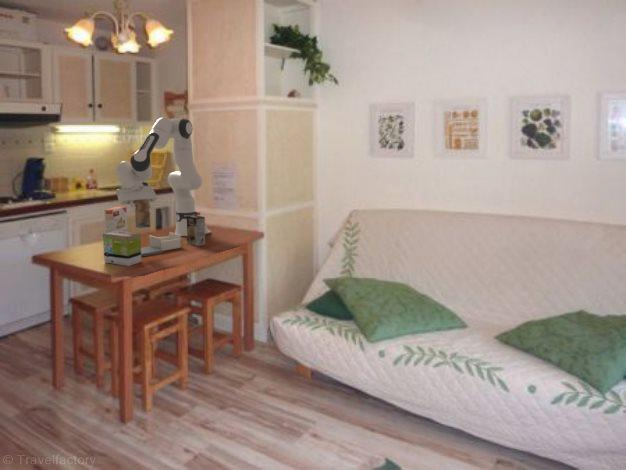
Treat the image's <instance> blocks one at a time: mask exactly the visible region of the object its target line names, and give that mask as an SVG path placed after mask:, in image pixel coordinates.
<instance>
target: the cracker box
mask: <svg viewBox="0 0 626 470" xmlns="http://www.w3.org/2000/svg"><path fill="white" fill-rule="evenodd" d="M127 210H128V209H127V207H126V206H114V207H111V208H107V209H104V225H105V227H104V228H105V234H106V233H110V232H113V231H123V232H128V216H127V215H128V213H127Z"/></svg>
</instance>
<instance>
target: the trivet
mask: <svg viewBox="0 0 626 470" xmlns="http://www.w3.org/2000/svg"><path fill="white" fill-rule="evenodd" d="M160 254H164V251H163V250H160V249H157V248H154V247H151V246H150V245H148V246H144V247H141V258H143V257H147V256H154V255H155V256H156V255H160ZM142 256H143V257H142Z"/></svg>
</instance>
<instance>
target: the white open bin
mask: <svg viewBox="0 0 626 470" xmlns="http://www.w3.org/2000/svg"><path fill="white" fill-rule="evenodd" d="M148 238H149V239H148V241H149V242H148V243H149V246H151V247H154V248H157V249H160V250H163V252H164V251H169V250H175V249H182V236H181V235H178V234H175V232H171V231H170V232H169V234H168V236H167V235H166V236H159V237H158V236H154V235H151V234H150V235H148Z"/></svg>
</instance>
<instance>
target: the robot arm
mask: <svg viewBox="0 0 626 470" xmlns="http://www.w3.org/2000/svg"><path fill="white" fill-rule="evenodd" d="M192 133H193V124H192V122H191V121H190V120H189V119H185V118H167V117H164V116H163V117H160V118H158V119H157V120H156V122H155V123H154V124H153V126H152V127H151V129H150V130H149V134H148V135H147V136H146V138H145V139H144V141H143V142H142V144H141V146H139V148H138V150H137V151H135V152H134V153H133V154H132V155H131V157H130V160H129V161H125V160H124V161H121V162H120V163H118V164H117V166H116V167H115V168H116V169H115V172H116V175H117V178H118V180H119V182H120V183H121V185H122V188H117V189H116V190H115V191H114V192H115V195H116V196H117V199H118V203H119V204H120V205H123V206H125V205H129V206H130V207H131V208H133V210H134V211H135V210H137V209H138V207H137V205H135V201H136V200H149V209H152V205H151V203H155V202H156V200H157V197H158V196H157V193H156V191H154V189H153V188H152V187H151V184H150V183H149V182H147V181H150V180H151V178H152V177H153V176H154V175H153V173H154V172H153V168H152V162H151V154H152V152H153V151H154V149H156V150H157V149H158V150H160V149H164V148H165V147H166V146H167V144H168V143H169V140H170V139H173V160H174V163H175V164H176V166H177V167H178V170H176V171H173V172H170V173H169V174H168V176H167V183H168V185H169V186H170V187H171V189H172V191H173V194H174V197H175V203H176V204H175V205H176V207H175V208H176V211H175V220H176V226H175V231H174V233H175V234H178V235H181V237H187V216H191V215H197V216H201V211H196V207H195V206H196V205H195V203H196V202H195V198H194V197H193V196H192V194H191V192H190V191H194V190H199V189H200V188H201V187H202V185H203V178H202V176H201V174H199V173H198V171H197V168H196V166H195V163H194V157H193V155H194V154H193V144H192V143H193V142H192V137H191V135H192ZM207 234H211V230H209V229H208V227H207V223H206V222H205V235H207Z"/></svg>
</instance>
